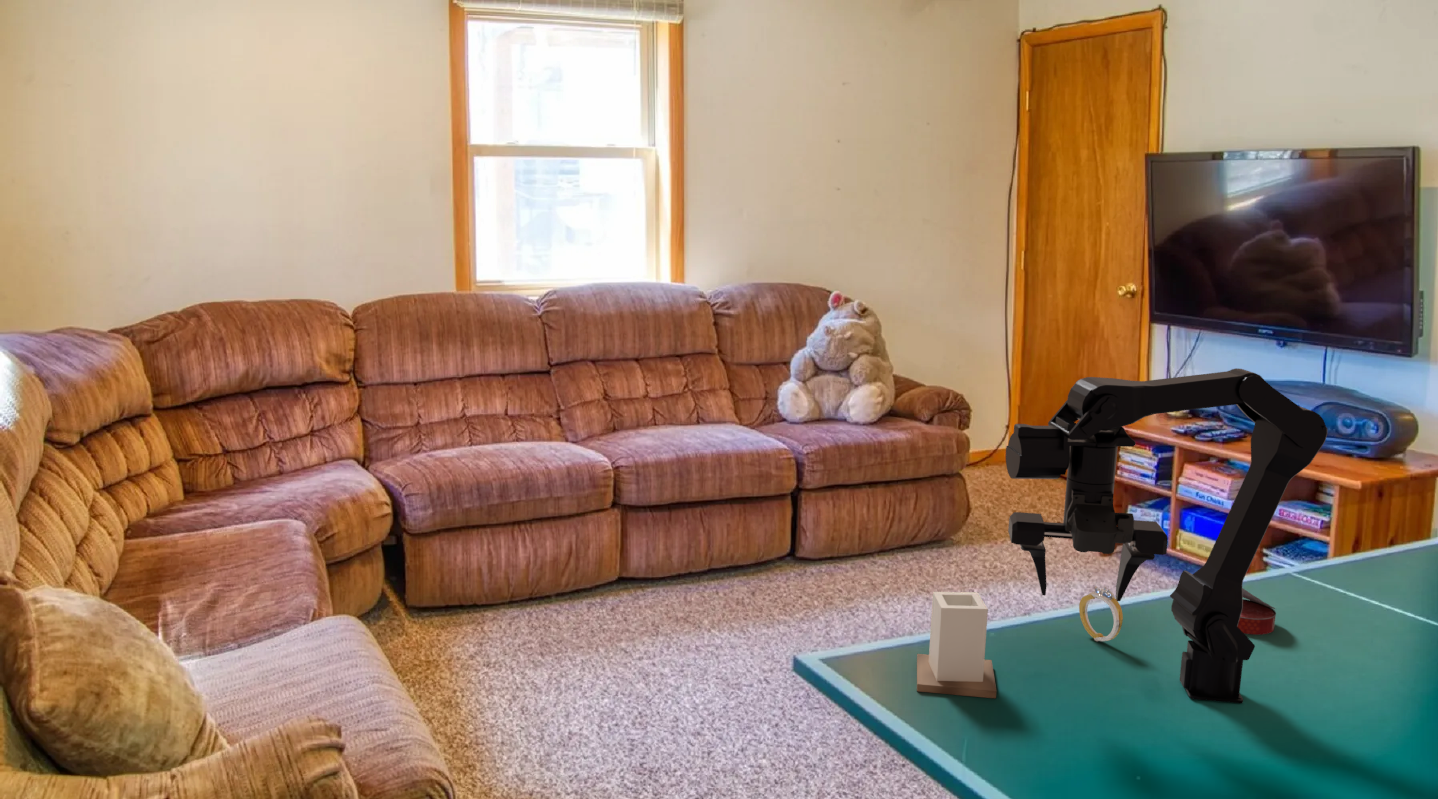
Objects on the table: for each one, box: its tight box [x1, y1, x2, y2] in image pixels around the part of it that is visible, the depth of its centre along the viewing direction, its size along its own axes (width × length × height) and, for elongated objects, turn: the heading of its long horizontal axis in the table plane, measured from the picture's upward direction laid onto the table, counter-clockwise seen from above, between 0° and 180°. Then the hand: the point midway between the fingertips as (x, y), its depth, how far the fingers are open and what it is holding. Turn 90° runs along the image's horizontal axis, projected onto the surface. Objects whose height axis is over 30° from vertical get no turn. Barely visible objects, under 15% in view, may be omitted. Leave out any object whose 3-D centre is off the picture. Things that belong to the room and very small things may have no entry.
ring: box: [1078, 586, 1124, 642], centre depth 167 cm, size 7×3×8 cm, turn 25°
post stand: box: [916, 653, 997, 699], centre depth 154 cm, size 10×10×4 cm
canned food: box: [1238, 587, 1277, 636], centre depth 176 cm, size 10×9×9 cm
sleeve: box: [928, 591, 989, 682], centre depth 153 cm, size 6×6×10 cm
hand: (1080, 597), depth 148 cm, fingers open, 9 cm apart
